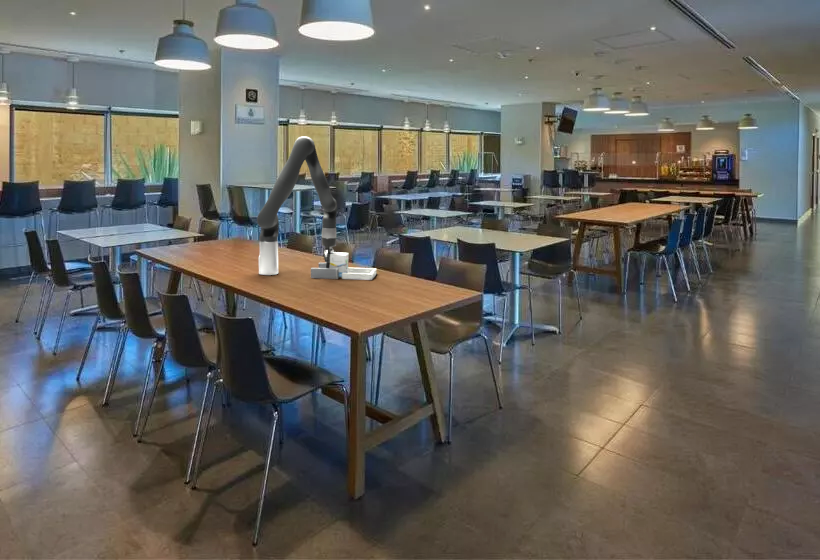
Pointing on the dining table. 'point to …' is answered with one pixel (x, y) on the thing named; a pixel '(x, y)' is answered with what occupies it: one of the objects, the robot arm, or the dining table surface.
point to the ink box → (339, 262)
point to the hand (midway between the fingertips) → (328, 269)
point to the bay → (324, 272)
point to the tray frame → (359, 273)
